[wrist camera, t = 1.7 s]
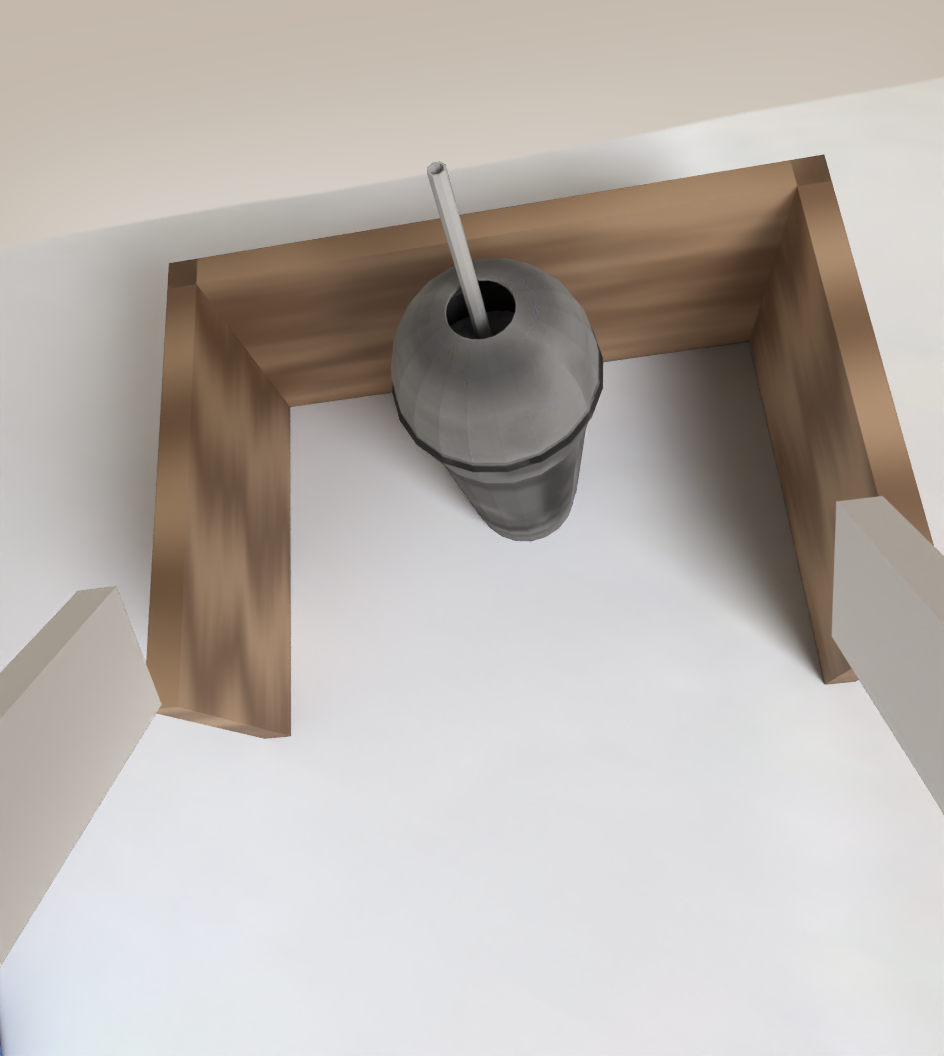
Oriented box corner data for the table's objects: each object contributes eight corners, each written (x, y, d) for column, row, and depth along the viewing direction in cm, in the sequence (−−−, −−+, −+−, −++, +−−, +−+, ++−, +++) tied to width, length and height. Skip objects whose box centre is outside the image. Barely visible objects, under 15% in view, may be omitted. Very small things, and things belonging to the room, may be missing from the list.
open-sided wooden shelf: (854, 681, 34) (956, 626, 24) (265, 738, 37) (143, 710, 27) (770, 316, 40) (824, 154, 30) (267, 389, 43) (168, 263, 33)
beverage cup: (486, 596, 38) (372, 380, 19) (425, 465, 40) (273, 161, 22) (631, 528, 38) (659, 246, 19) (561, 401, 40) (526, 44, 22)
